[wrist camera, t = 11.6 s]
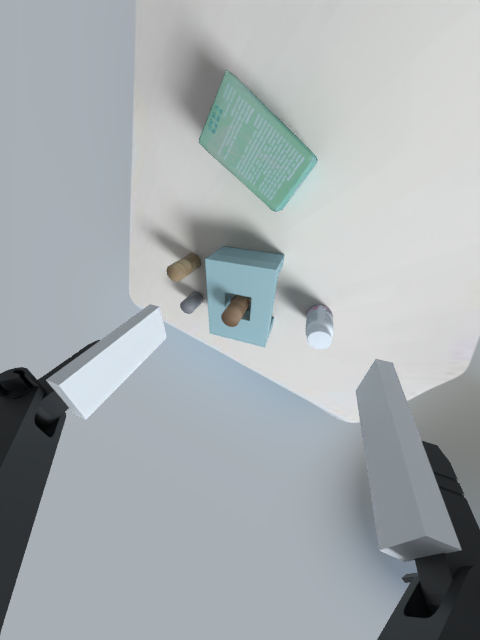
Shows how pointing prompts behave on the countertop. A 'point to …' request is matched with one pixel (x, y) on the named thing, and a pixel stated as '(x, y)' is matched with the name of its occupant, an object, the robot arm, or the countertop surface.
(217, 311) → the bridge
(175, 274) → the oak pin
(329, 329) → the pill bottle
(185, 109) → the countertop surface
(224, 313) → the walnut pin
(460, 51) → the countertop surface
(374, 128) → the countertop surface
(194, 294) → the charcoal pin
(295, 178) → the box
